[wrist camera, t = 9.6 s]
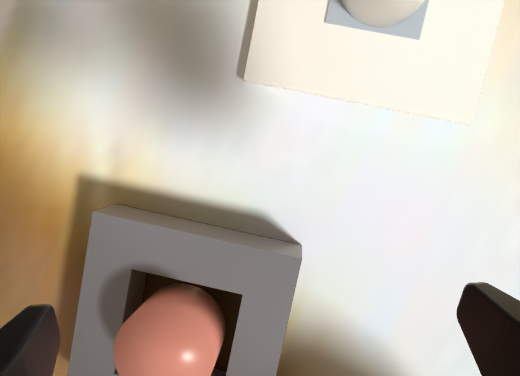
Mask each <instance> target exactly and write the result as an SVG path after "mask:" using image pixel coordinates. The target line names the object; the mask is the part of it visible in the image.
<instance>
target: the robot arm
mask: <svg viewBox="0 0 520 376" xmlns="http://www.w3.org/2000/svg"><path fill="white" fill-rule="evenodd" d="M457 319H458V322H459V324H460V327H461V329H462V331H463V333H464V336H465V338H466V340H467V343H468V345H469V347H470V350H471V352H472V354H473V357H474V359H475V361H476V363H477V366H478V368H479V370H480V373H481V375H482V376H520V301H519V300H517V299H515V298H513V297H512V296H510V295H508V294H506V293H504V292H502V291H501V290H499V289H497V288H495V287H493V286H492V285H490V284H488V283H484V282H478V283H468V284H467V285H466V286H465V287H464V290H463V293H462V296H461V299H460V302H459V304H458V307H457ZM59 345H60V331H59V327H58V323H57V319H56V316H55V312H54V308H53V307H52V306H51V305H49V304H40V305H30V306H28V307H27V308H25V309H24V310H23V311H21V312H20V313H19V314H18V315H16V316H15V317H14V318H13V319H12V320H10V321H9V322H8V323H7V324H5V325H4V326H3V327H2V328H0V376H53V371H54V367H55V363H56V358H57V354H58V350H59Z"/></svg>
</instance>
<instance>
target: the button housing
mask: <svg viewBox="0 0 520 376" xmlns="http://www.w3.org/2000/svg"><path fill="white" fill-rule="evenodd" d="M301 260H302V245H299V244H294V243H290V242H285V241H281V240H276V239H272V238H267V237H263V236H258V235H254V234H249V233H245V232H240V231H236V230H231V229H227V228H222V227H218V226H213V225H209V224H204V223H200V222H195V221H191V220H186V219H182V218H177V217H173V216H168V215H164V214H159V213H155V212H150V211H145V210H141V209H136V208H132V207H127V206H123V205H118V204H114V205H111V206H108V207H105V208H102V209H99V210H96V211H93V213H92V219H91V226H90V232H89V239H88V245H87V252H86V258H85V264H84V271H83V277H82V284H81V290H80V297H79V303H78V310H77V316H76V322H75V329H74V335H73V342H72V348H71V355H70V361H69V368H68V374H67V376H119V374H118V372H117V370H116V366H115V362H114V354H113V350H114V343H115V338H116V336H117V333H118V331H119V330H120V328H121V326H122V325H123V324H124V322H125V321H126V320H127V319H128V318H129V317H130V316H131V315H132V314H133V313H134V312H135V311H136V310H137V309H138V308H139V307H140V306H141V305H142V299H143V294H144V288H145V282H146V277H147V273H151V274H156V275H160V276H164V277H168V278H173V279H177V280H181V281H186V282H190V283H194V284H198V285H203V286H207V287H211V288H216V289H220V290H224V291H229V292H233V293H237V294H241V295H243V296H242V301H241V305H240V310H239V315H238V320H237V325H236V330H235V334H234V339H233V344H232V349H231V354H230V359H229V364H228V368H227V372H226V371H222V370H218V369H214V368H213V371H212V373H211V376H276V373H277V369H278V364H279V360H280V355H281V351H282V346H283V342H284V337H285V332H286V328H287V323H288V319H289V314H290V310H291V305H292V301H293V296H294V292H295V287H296V283H297V278H298V274H299V269H300V265H301Z"/></svg>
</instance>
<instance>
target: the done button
mask: <svg viewBox="0 0 520 376" xmlns="http://www.w3.org/2000/svg"><path fill="white" fill-rule="evenodd" d="M225 333H226V324H225V318H224V315H223V312H222V310H221V308H220V306H219V304H218V303H217V302H216V300H215V299H214V298H213V297H212V296H211V295H210V294H208V293H207V292H206V291H204V290H202V289H201V288H198V287H196V286H193V285H189V284H171V285H167V286H165V287H162V288H160V289H158V290H157V291H156V292H154V293H153V294H152V295H151V296H150V297H149V298H148V299H147V300H146V301H145V302H144V303H143V304H142V305H141V306H140V307H139V308H138V309H137V310H136V311H135V312H134V313H133V314H132V315H131V316H130V317H129V318H128V319H127V320H126V321H125V322H124V324H123V325H122V326H121V328H120V330H119V331H118V333H117V336H116V338H115V343H114V350H113V354H114V362H115V366H116V370H117V372H118V374H119V376H211V373H212V371H213V368H214V365H215V363H216V360H217V358H218V355H219V352H220V350H221V347H222V345H223V342H224V338H225Z"/></svg>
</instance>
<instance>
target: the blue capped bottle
mask: <svg viewBox="0 0 520 376" xmlns="http://www.w3.org/2000/svg"><path fill="white" fill-rule="evenodd" d="M424 1H425V0H342V3H343V5H344V7H345V9H346V10H347V11H348V13H349V14H350V15H351V16H352V17H353V18H355V19H356V20H357V21H359V22H361V23H362V24H365V25H368V26H371V27H390V26H394V25H396V24H399V23H401V22H403V21H405V20H406V19H408V18H409V17H410V16H411V15H412V14H413V13H414V12H415V11H416V10H417V9H418V8H419V7H420V6H421V4H422V3H423V2H424Z"/></svg>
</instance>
